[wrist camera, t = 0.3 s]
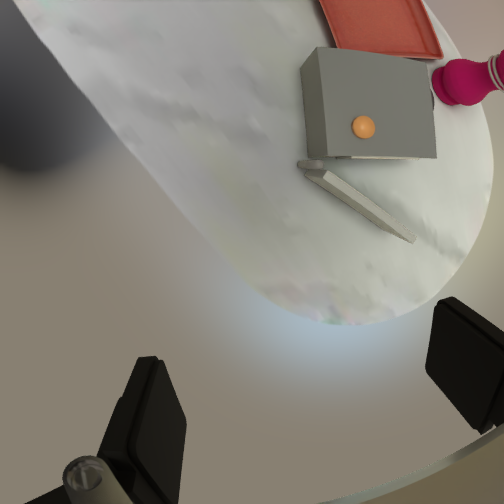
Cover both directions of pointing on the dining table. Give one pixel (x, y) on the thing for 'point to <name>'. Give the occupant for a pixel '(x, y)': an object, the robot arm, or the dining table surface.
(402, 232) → the side door
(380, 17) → the plant saucer
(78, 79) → the dining table surface
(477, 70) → the pepper mill
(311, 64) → the camera case
